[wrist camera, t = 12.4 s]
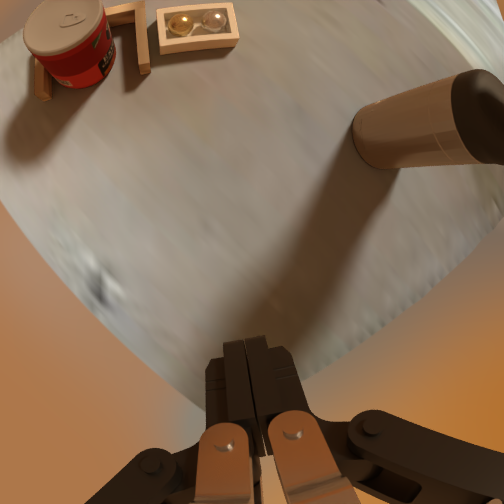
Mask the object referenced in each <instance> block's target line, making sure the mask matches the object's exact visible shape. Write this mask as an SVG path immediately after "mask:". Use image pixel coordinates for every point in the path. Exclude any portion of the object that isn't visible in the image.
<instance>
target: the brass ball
mask: <svg viewBox="0 0 504 504" xmlns="http://www.w3.org/2000/svg"><path fill="white" fill-rule="evenodd" d="M193 27H194V22H193V19H192V18H191V17H190V16H189V15H187V14H177V15H175V16H173V17H172V18H171V19H170V20H169V22H168V30H169V32H170V33H171V34H172V35H174V36H177V37H183V36H186V35H188V34H189V33H190V32H191V31H192V29H193Z"/></svg>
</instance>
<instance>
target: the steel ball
mask: <svg viewBox="0 0 504 504" xmlns="http://www.w3.org/2000/svg"><path fill="white" fill-rule="evenodd" d="M200 24H201V27H202V29H203V30H204V31H206V32H208V33H218V32H220V31H222V30H223V29H224V28H225V26H226V17H225V16H224V15H223V14H222V13H221V12H219V11H209V12H207V13H205V14H204V15H203V16H202V18H201V22H200Z"/></svg>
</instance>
